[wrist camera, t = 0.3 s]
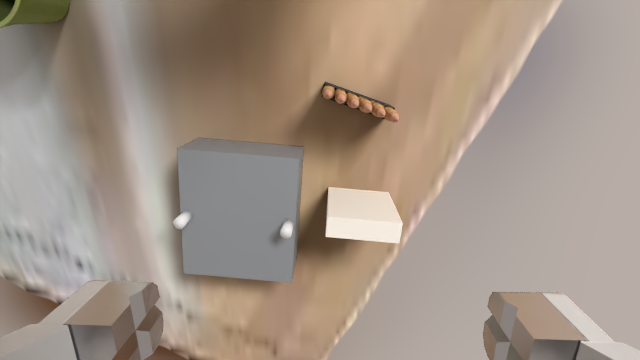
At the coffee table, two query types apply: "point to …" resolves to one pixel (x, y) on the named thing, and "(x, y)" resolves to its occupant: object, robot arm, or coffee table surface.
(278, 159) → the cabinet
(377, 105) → the ammunition clip
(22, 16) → the plant pot
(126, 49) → the coffee table surface
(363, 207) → the door panel
